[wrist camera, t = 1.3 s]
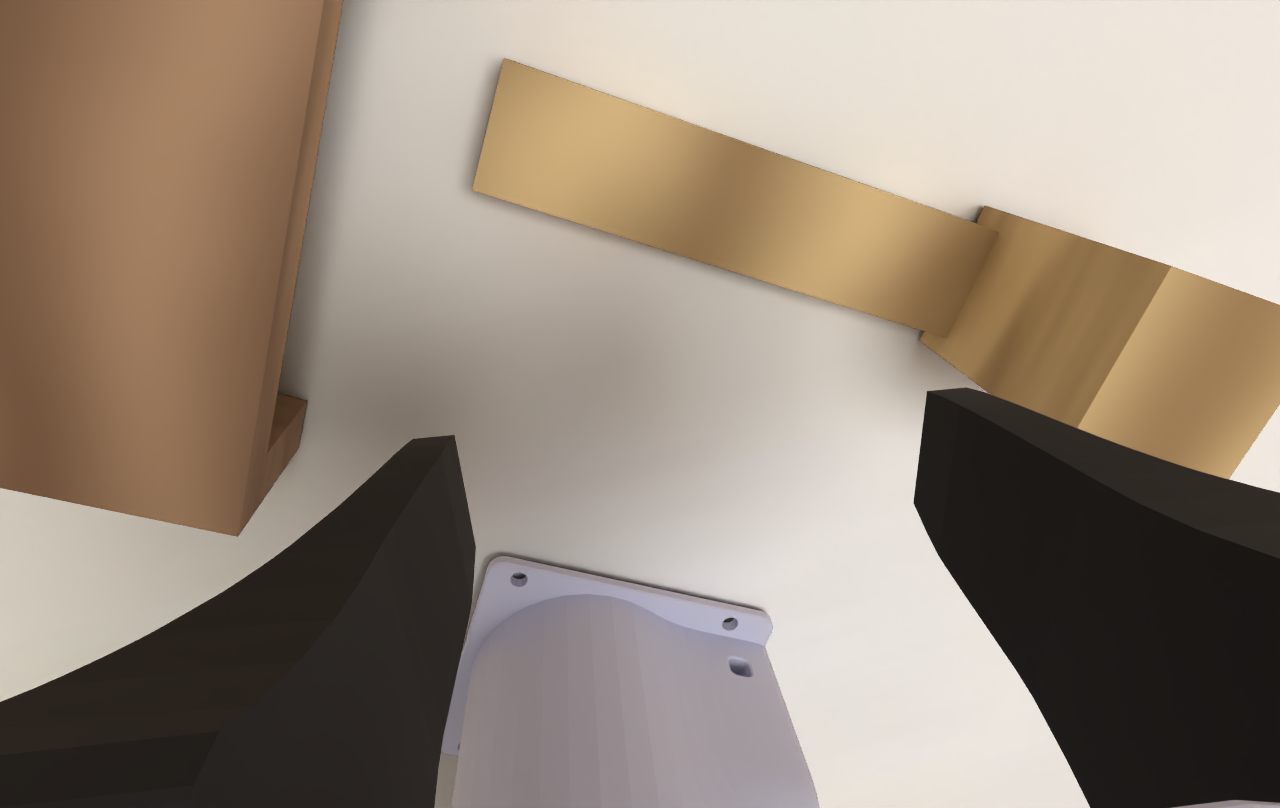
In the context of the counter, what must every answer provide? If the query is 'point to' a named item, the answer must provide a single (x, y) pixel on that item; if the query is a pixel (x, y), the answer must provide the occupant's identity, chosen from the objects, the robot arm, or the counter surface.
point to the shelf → (154, 247)
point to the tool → (910, 269)
